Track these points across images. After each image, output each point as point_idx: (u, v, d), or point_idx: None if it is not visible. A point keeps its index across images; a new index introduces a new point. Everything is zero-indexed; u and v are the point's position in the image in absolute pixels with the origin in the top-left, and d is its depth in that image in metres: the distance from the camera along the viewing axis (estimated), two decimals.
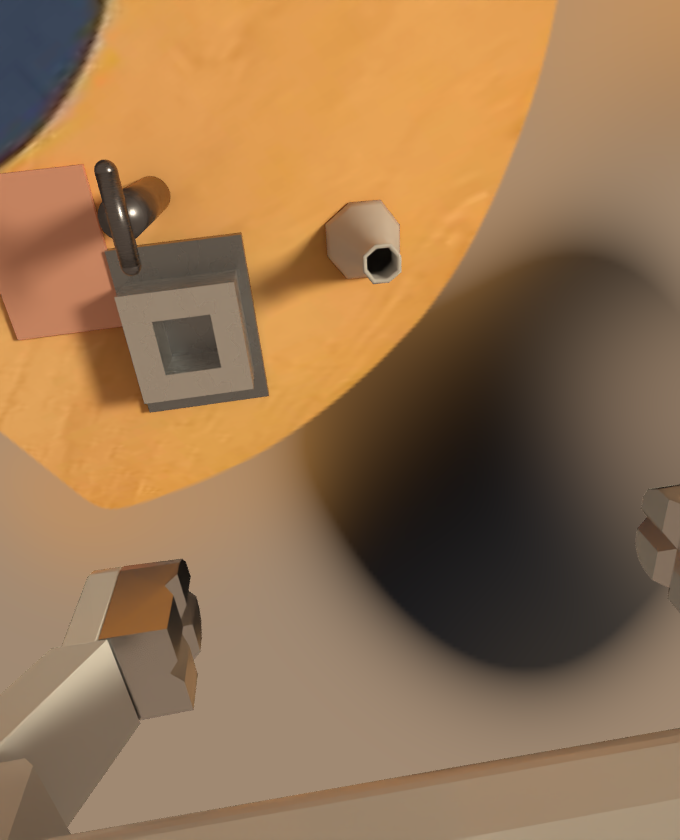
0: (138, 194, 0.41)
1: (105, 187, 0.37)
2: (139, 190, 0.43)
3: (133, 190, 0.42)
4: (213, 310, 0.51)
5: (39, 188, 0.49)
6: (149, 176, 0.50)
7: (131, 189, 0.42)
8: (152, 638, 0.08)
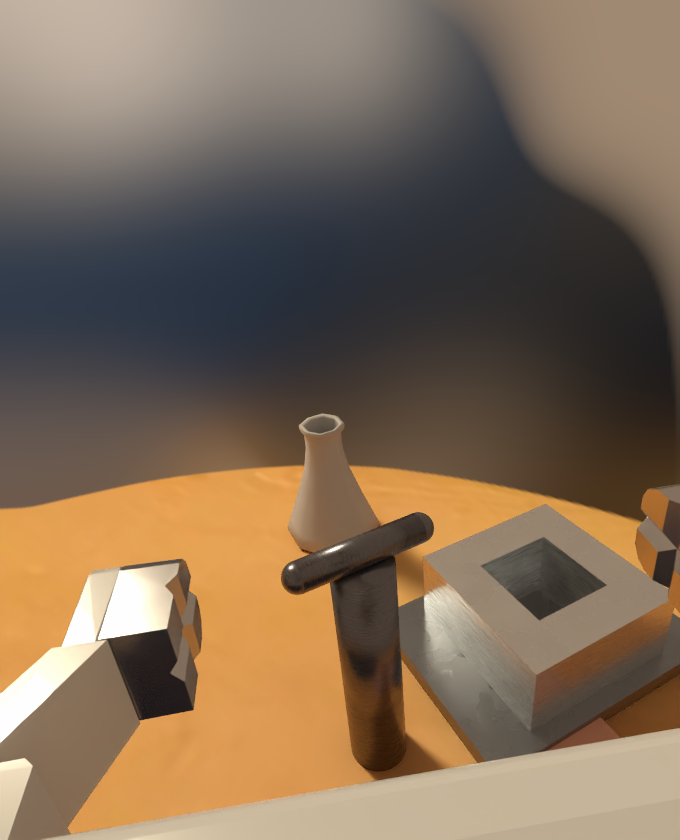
0: None
1: (316, 559, 0.25)
2: None
3: None
4: (472, 564, 0.36)
5: None
6: (353, 752, 0.32)
7: (335, 624, 0.28)
8: (152, 638, 0.08)
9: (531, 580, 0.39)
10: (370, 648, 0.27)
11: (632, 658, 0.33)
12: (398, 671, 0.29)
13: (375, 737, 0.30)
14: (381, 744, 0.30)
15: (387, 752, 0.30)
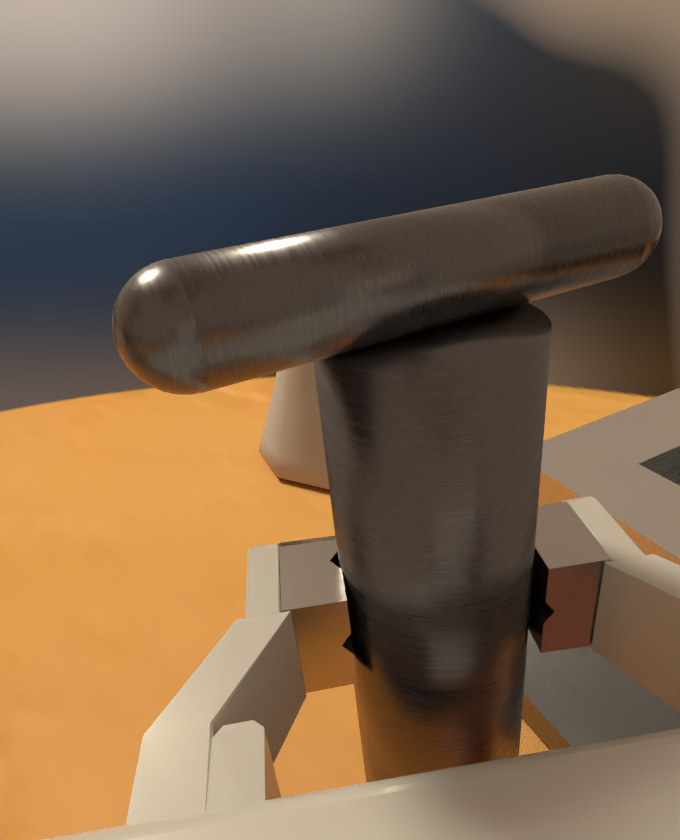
0: None
1: (256, 249, 0.06)
2: None
3: None
4: (620, 461, 0.17)
5: None
6: None
7: (337, 551, 0.09)
8: (332, 609, 0.08)
9: None
10: (455, 621, 0.08)
11: None
12: (522, 693, 0.10)
13: None
14: None
15: None
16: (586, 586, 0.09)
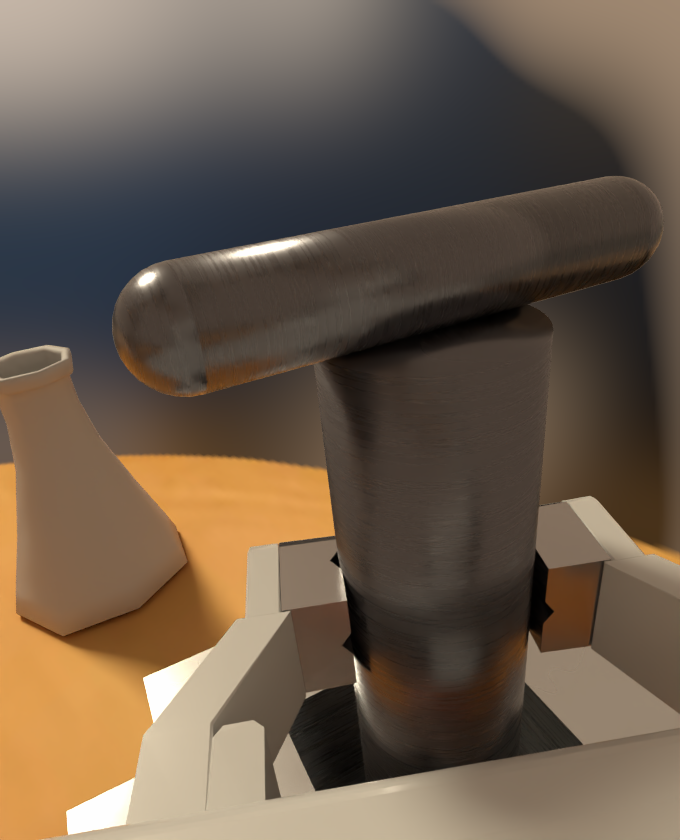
0: None
1: (257, 251, 0.06)
2: None
3: None
4: None
5: None
6: None
7: (338, 553, 0.09)
8: (332, 609, 0.08)
9: None
10: (454, 623, 0.08)
11: None
12: (522, 695, 0.10)
13: None
14: None
15: None
16: (586, 586, 0.09)
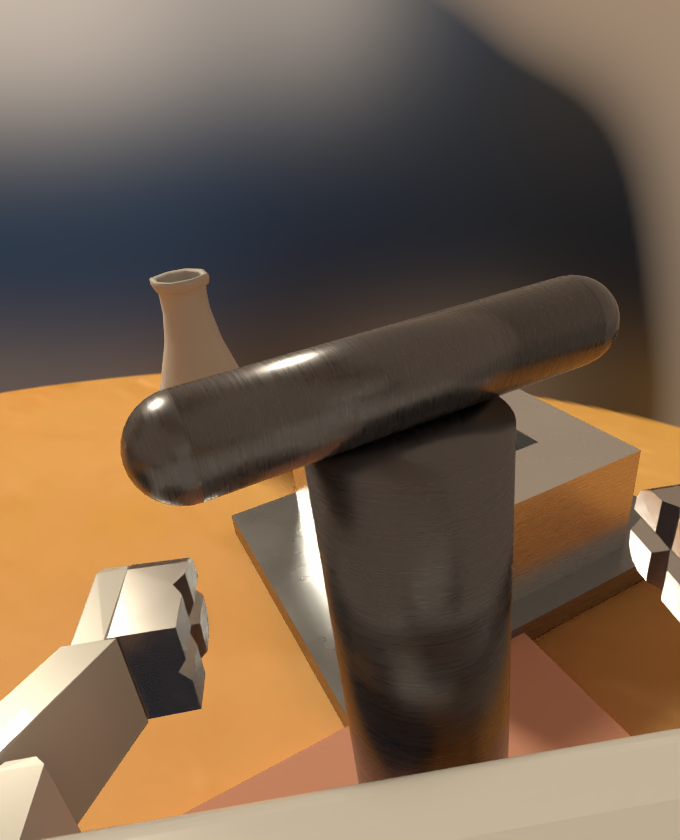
0: None
1: (246, 377, 0.07)
2: None
3: None
4: None
5: None
6: None
7: (330, 618, 0.10)
8: (161, 636, 0.08)
9: None
10: (436, 687, 0.09)
11: (576, 548, 0.22)
12: (507, 743, 0.11)
13: None
14: None
15: None
16: None
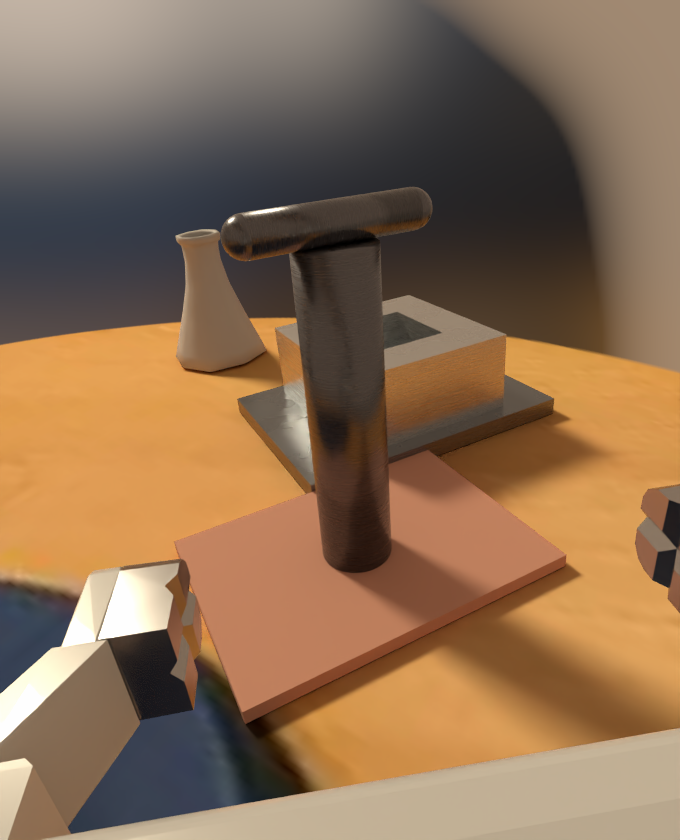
0: None
1: (269, 211, 0.18)
2: None
3: None
4: None
5: (228, 581, 0.25)
6: (324, 555, 0.25)
7: None
8: (153, 637, 0.08)
9: None
10: (344, 364, 0.20)
11: (466, 401, 0.34)
12: (383, 420, 0.22)
13: (351, 517, 0.23)
14: (360, 529, 0.23)
15: (367, 544, 0.24)
16: None
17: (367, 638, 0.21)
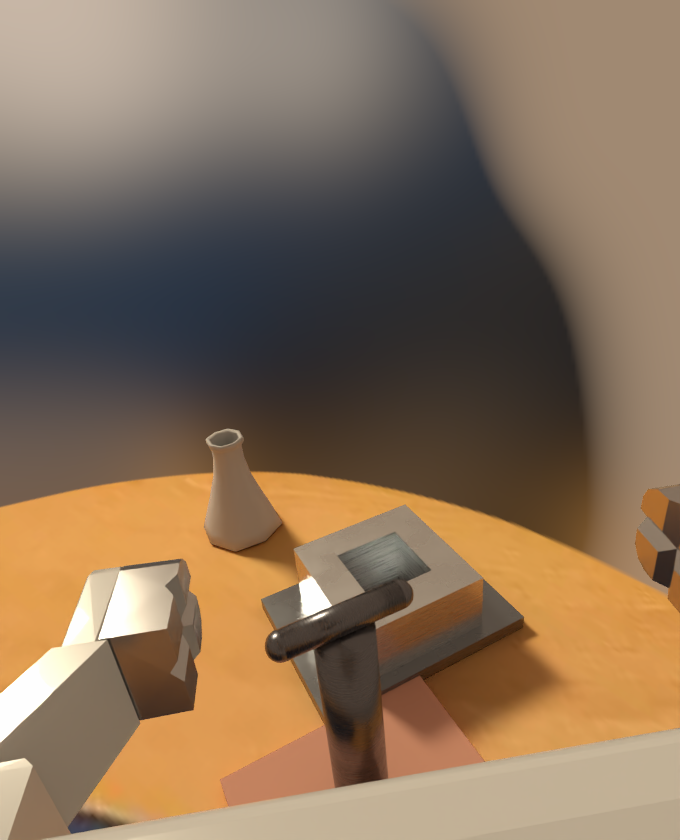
0: None
1: (298, 628, 0.26)
2: None
3: None
4: (331, 554, 0.44)
5: None
6: None
7: (319, 685, 0.29)
8: (153, 637, 0.08)
9: (388, 568, 0.47)
10: (351, 711, 0.28)
11: (450, 628, 0.41)
12: (380, 730, 0.30)
13: None
14: None
15: None
16: None
17: None
